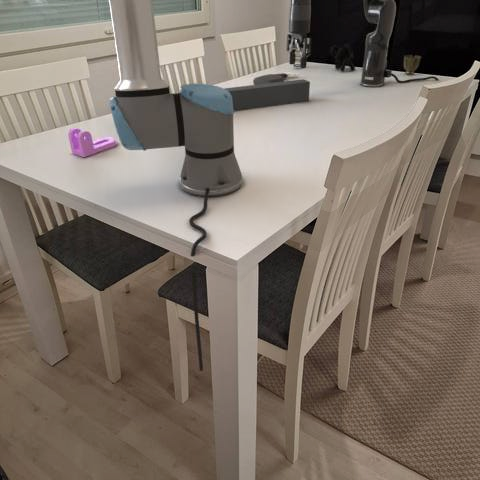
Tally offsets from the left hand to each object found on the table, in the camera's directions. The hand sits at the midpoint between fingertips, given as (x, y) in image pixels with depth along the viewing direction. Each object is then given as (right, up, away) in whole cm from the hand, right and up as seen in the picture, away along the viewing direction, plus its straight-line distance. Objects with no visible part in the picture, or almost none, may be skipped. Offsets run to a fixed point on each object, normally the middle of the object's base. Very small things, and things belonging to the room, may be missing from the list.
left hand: (138, 45), depth 142 cm
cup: (+112, +16, +69) cm, 133 cm away
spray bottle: (+49, +10, +60) cm, 78 cm away
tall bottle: (+61, +25, +84) cm, 107 cm away
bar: (+25, -14, +23) cm, 37 cm away
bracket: (-10, -35, -9) cm, 38 cm away
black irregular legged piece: (+84, +22, +79) cm, 117 cm away
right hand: (+54, +3, +26) cm, 60 cm away
